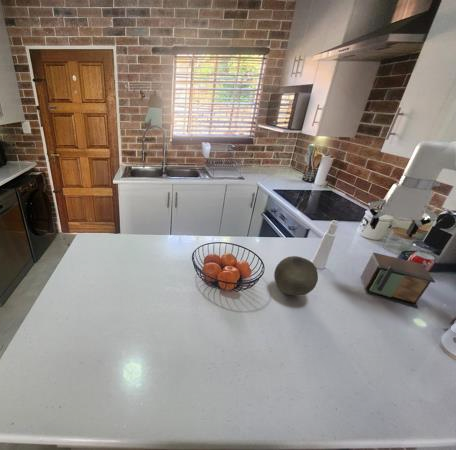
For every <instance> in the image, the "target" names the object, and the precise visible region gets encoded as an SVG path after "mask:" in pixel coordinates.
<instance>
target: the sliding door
mask: <svg viewBox="0 0 456 450" xmlns="http://www.w3.org/2000/svg"><path fill="white" fill-rule="evenodd" d="M393 270H394V268H393V267H390V266H389V267H388V269H387V270H382V269H381V270H380V272H379V274H378V276H377V278H376V279H375V281H374V283H373V285H372V287H371V288H370V291H371V292H375V293H378V294H381V295H385V296H388V297H392V295H393V294H394V292H395V290H396V289H397V287H398V285H399V284H400V282H401V281H402V279H403V277H404V275H401V274H397V273H393Z"/></svg>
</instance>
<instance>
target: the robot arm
mask: <svg viewBox="0 0 456 450" xmlns="http://www.w3.org/2000/svg"><path fill="white" fill-rule="evenodd" d="M443 169H446V170H450V171H456V140H454V141H449V142H447V141H441V140H422V141H420V142H419V143H417V145H416V147H415V148H414V151H413V153H412V154H411V157H410V158H409V161H408V163H407V165H406V167H405V169H404V171H403V172H402V174H401V177H400V178H399V181H398V183H393V184H392V186H391V187H390V189H389V190H388V192H387V193H386V194H385V196H384V198H383V199H382V200H376V201H371V202H368V204H367V205H368V209H369V212H370V214H371V215H372V218H371V220H370V222H369V226H370V228H371V230H375V229H376V228H377V226H378V224H379V222H380V218H381V217H383V216H390V217H396V218H401V219H406V220H411V221H413V222H411V223H410V225H409V226H408V228H407V230H406V231H405V234H406V235H407V237H408V238H412V237H413V235H416V233H417V231H418V229H419V228H420V227H423V226H425V225H428V224H430V223H431V222H432V221H434V220H436V219H437V218H439V216H438V214H436V213H435V212H434V211H432V210H431V209H430V208H428V206H429V205H430V202H431V199H432V195H433V193H434V192H433V188H434V187H437V188H438V187H440V186H441V181H437V179H438V178H439V176H440V174H441V172H442V170H443ZM375 207H379V209H377V210H375ZM425 214H426V215H428V216H427V217H424V218H423V216H424V215H425Z"/></svg>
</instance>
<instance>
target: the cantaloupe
mask: <svg viewBox="0 0 456 450" xmlns="http://www.w3.org/2000/svg"><path fill="white" fill-rule="evenodd" d="M311 261H312V260H310V259H308V258H304V257H301V256H298V255H297V256H296V255H292V256H287V257H285V258H283V259H282V260H280V261H279V262H278V264H277V265H276V267H275V268H274V272H273V273H274V274H273V277H274V282H275V285H276V287H277V288H278V289H279V290H280V291H281V292H282V293H284V294H285V295H289V296H297V297H301V296H306V295H308V294H309V293H311V292H312V291H313V290H314V289H315V288H316V285H317V284H318V279H319V275H318V270H317V269H318V268H316V267H315V265H314V264H313V263H312V262H311Z"/></svg>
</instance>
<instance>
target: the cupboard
mask: <svg viewBox="0 0 456 450" xmlns="http://www.w3.org/2000/svg"><path fill="white" fill-rule="evenodd" d="M407 260H408V259H403V258H399V257H394V256H392V255H391V256H390V255H386V254H383V253H378V252H373V253H372V254H371V256H370V257H369V260H368V262H367V263H366V266H365V268H364V270H363V271H362V273H361V275H360V277H361V280H362V285H363V287H364V291H365V293H366V294H368V295H371V296H373V297H377V298H381V299H385V300H388V301H391V302H395V303H398V304H402V305H404V306H408V307H411V308H414V309H419V306H418V302H419V300H420V299H421V297H422V295H423V294H424V293H425V291H426V290H427V288H428V287H429V286H430V284H431V283H436V281H435V279H434V278H433V276H432V275H431V274H430V271H429V272H428V271H427V270H426V268H425V267H424V265H423V264H420V263H416V262H412V261H407ZM389 266H390V267H393V268H394V270H393V273H397V274H401V275H404V277H403V279H402V281H401V282H400V284H399V285H398V287H397V289H396V290H395V292H394V294H393V295H392V297H388V296H385V295H381V294H378V293H375V292H371V291H370V288H371V287H372V285H373V283H374V281H375V279H376V278H377V276H378V274H379V272H380V270H381V269H382V270H387V269H388V267H389Z"/></svg>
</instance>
